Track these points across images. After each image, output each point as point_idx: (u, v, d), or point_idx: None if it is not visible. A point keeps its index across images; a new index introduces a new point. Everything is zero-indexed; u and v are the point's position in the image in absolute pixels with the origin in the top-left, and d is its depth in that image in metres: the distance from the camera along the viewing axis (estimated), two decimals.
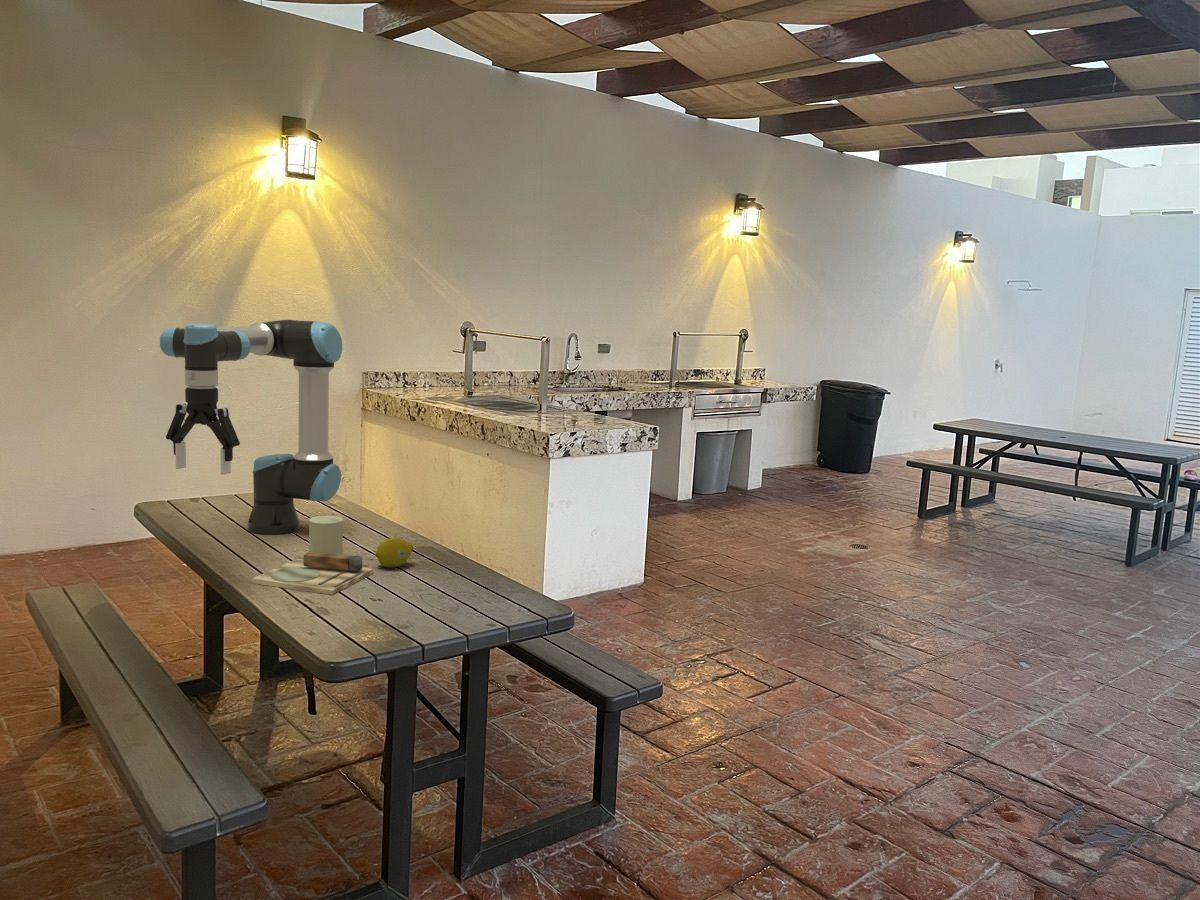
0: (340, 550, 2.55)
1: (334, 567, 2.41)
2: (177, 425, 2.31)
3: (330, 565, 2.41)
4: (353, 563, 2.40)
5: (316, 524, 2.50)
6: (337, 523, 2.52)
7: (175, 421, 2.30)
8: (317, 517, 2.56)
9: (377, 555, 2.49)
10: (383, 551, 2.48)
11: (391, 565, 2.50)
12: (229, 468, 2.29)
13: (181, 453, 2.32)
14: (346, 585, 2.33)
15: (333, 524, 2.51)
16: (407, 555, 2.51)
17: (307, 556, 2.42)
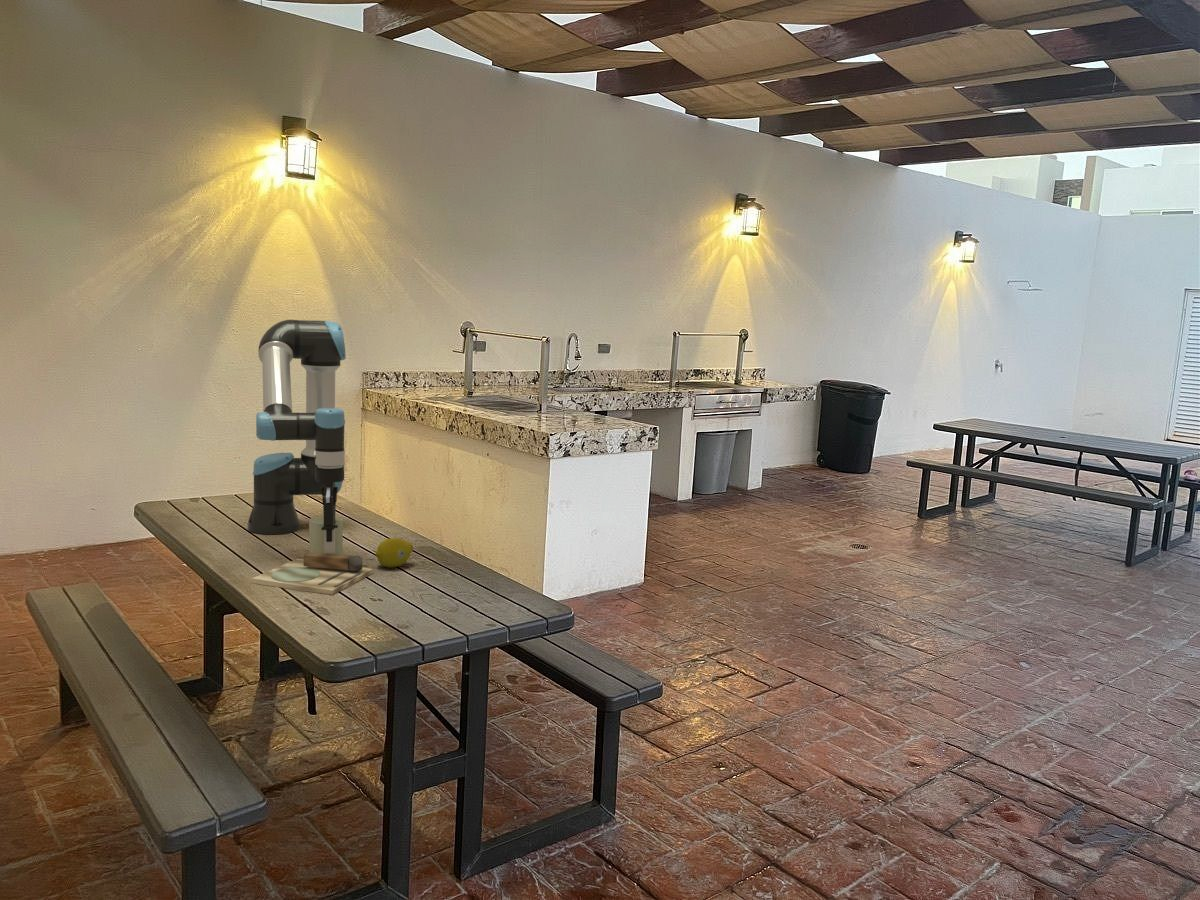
0: (340, 550, 2.55)
1: (334, 567, 2.41)
2: None
3: (330, 565, 2.41)
4: (353, 563, 2.40)
5: (316, 524, 2.50)
6: (337, 523, 2.52)
7: None
8: (317, 517, 2.56)
9: (377, 555, 2.49)
10: (383, 551, 2.48)
11: (391, 565, 2.50)
12: (332, 548, 2.47)
13: None
14: (346, 585, 2.33)
15: None
16: (407, 555, 2.51)
17: (307, 556, 2.42)
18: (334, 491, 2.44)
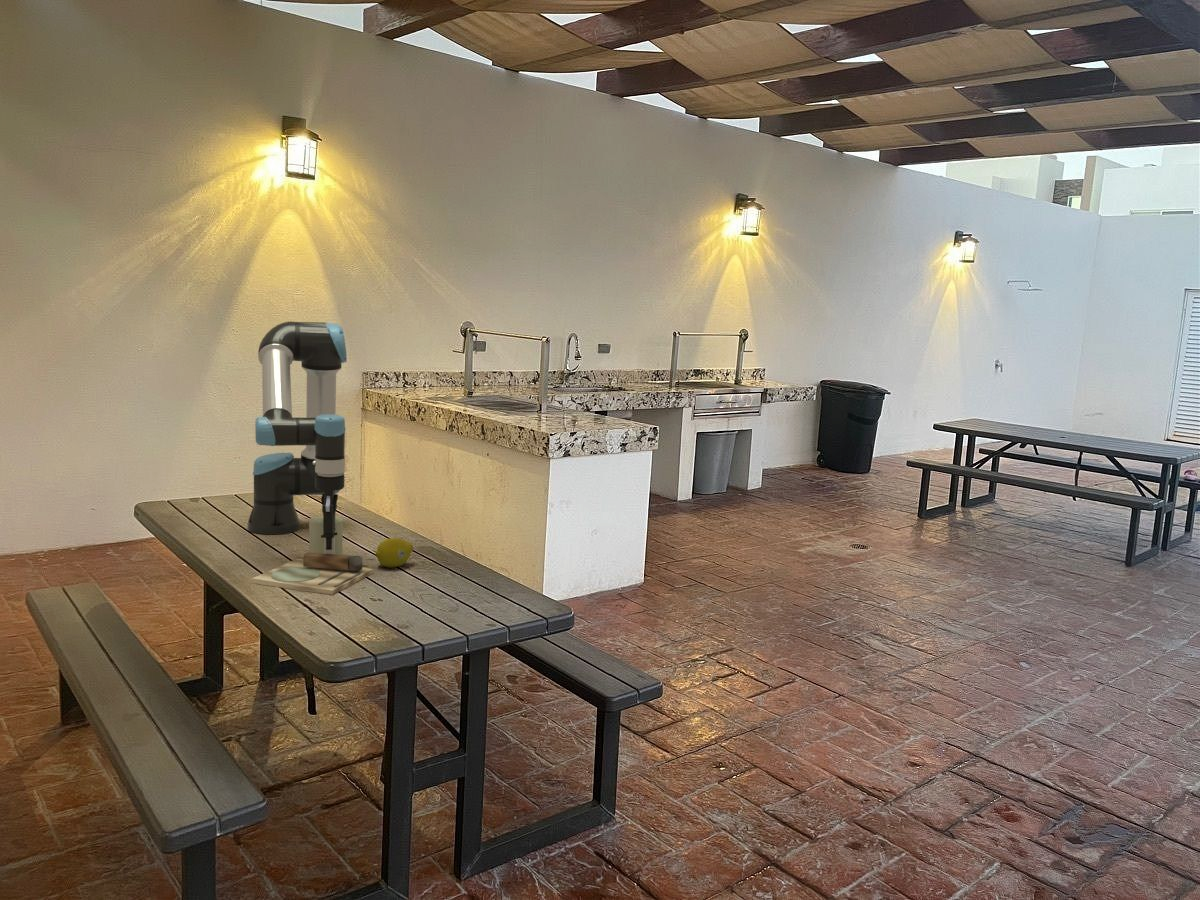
0: (340, 550, 2.55)
1: (334, 567, 2.41)
2: None
3: (330, 565, 2.41)
4: (353, 563, 2.40)
5: (316, 524, 2.50)
6: (337, 523, 2.52)
7: None
8: (317, 517, 2.56)
9: (377, 555, 2.49)
10: (383, 551, 2.48)
11: (391, 565, 2.50)
12: None
13: None
14: (346, 585, 2.33)
15: None
16: (407, 555, 2.51)
17: (306, 556, 2.41)
18: (334, 499, 2.41)
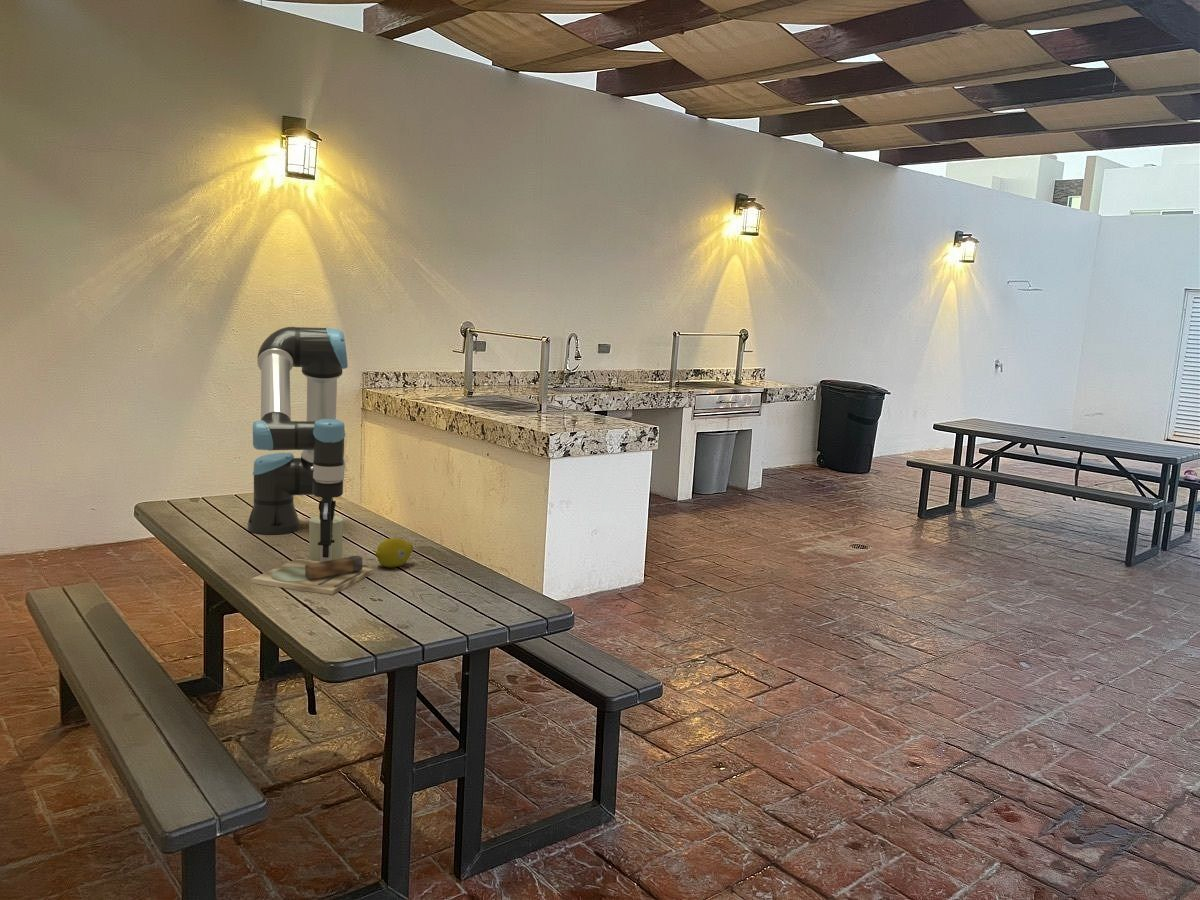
0: (340, 550, 2.55)
1: (341, 572, 2.38)
2: None
3: (337, 571, 2.37)
4: (359, 563, 2.41)
5: (316, 524, 2.50)
6: (337, 523, 2.52)
7: None
8: (317, 517, 2.56)
9: (377, 555, 2.49)
10: (383, 551, 2.48)
11: (391, 565, 2.50)
12: None
13: None
14: (346, 585, 2.33)
15: (333, 524, 2.51)
16: (407, 555, 2.51)
17: (314, 568, 2.32)
18: (332, 506, 2.35)
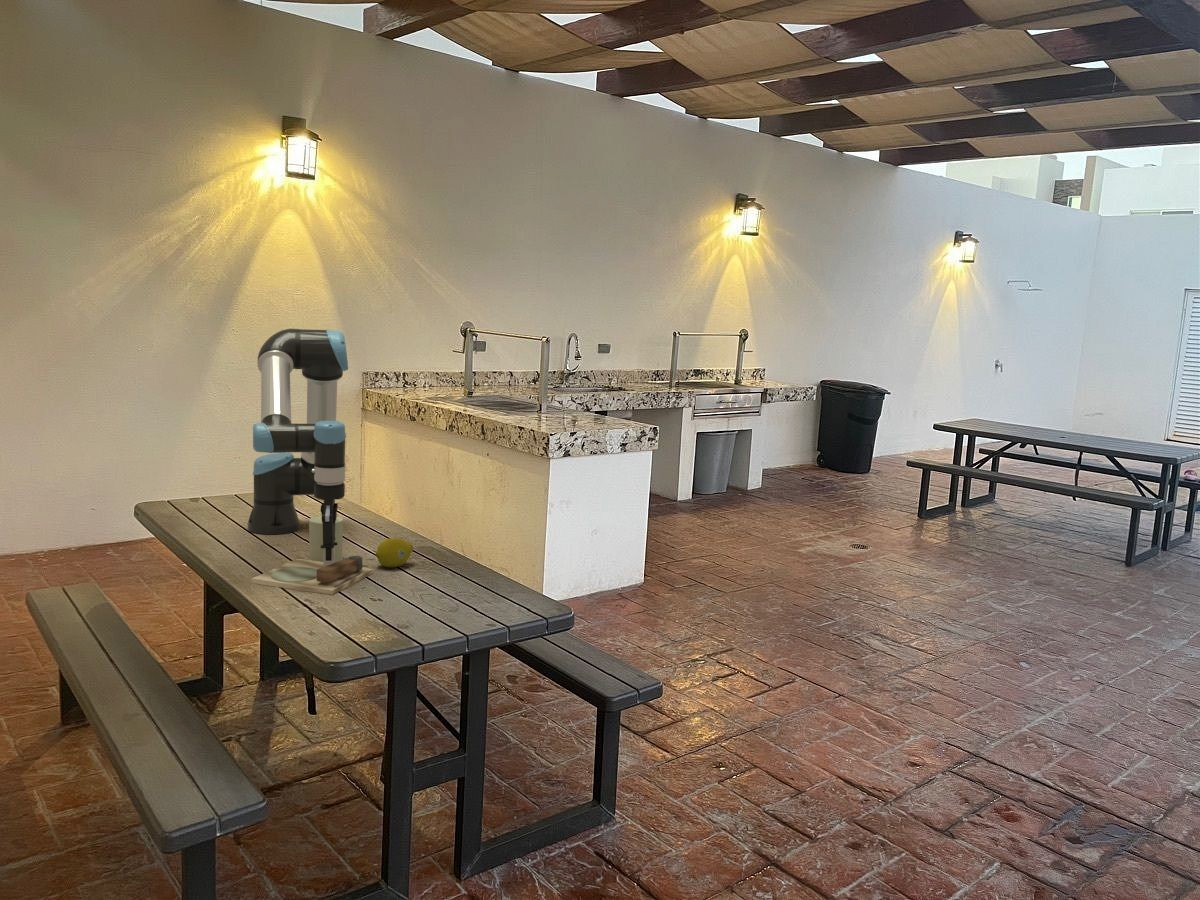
0: (340, 550, 2.55)
1: (347, 573, 2.37)
2: None
3: (344, 572, 2.36)
4: (361, 562, 2.42)
5: (316, 524, 2.50)
6: (337, 523, 2.52)
7: None
8: (317, 517, 2.56)
9: (377, 555, 2.49)
10: (383, 551, 2.48)
11: (391, 565, 2.50)
12: None
13: None
14: (346, 585, 2.33)
15: None
16: (407, 555, 2.51)
17: (329, 571, 2.30)
18: (334, 508, 2.33)
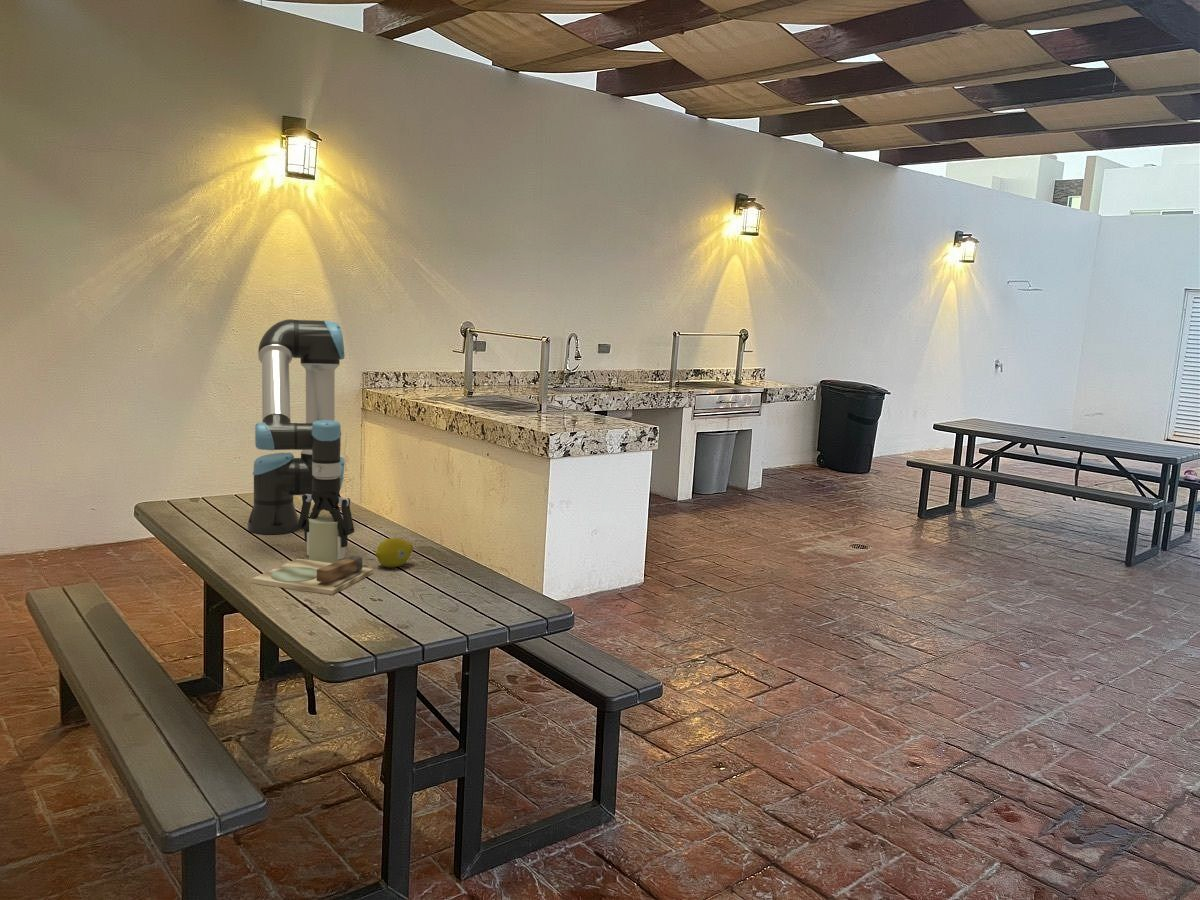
0: None
1: (347, 573, 2.37)
2: (306, 514, 2.55)
3: (344, 572, 2.36)
4: (361, 562, 2.42)
5: (316, 524, 2.50)
6: (337, 523, 2.52)
7: (304, 510, 2.54)
8: (317, 517, 2.56)
9: (377, 555, 2.49)
10: (383, 551, 2.48)
11: (391, 565, 2.50)
12: (344, 553, 2.55)
13: None
14: (346, 585, 2.33)
15: (333, 524, 2.51)
16: (407, 555, 2.51)
17: (329, 571, 2.30)
18: None
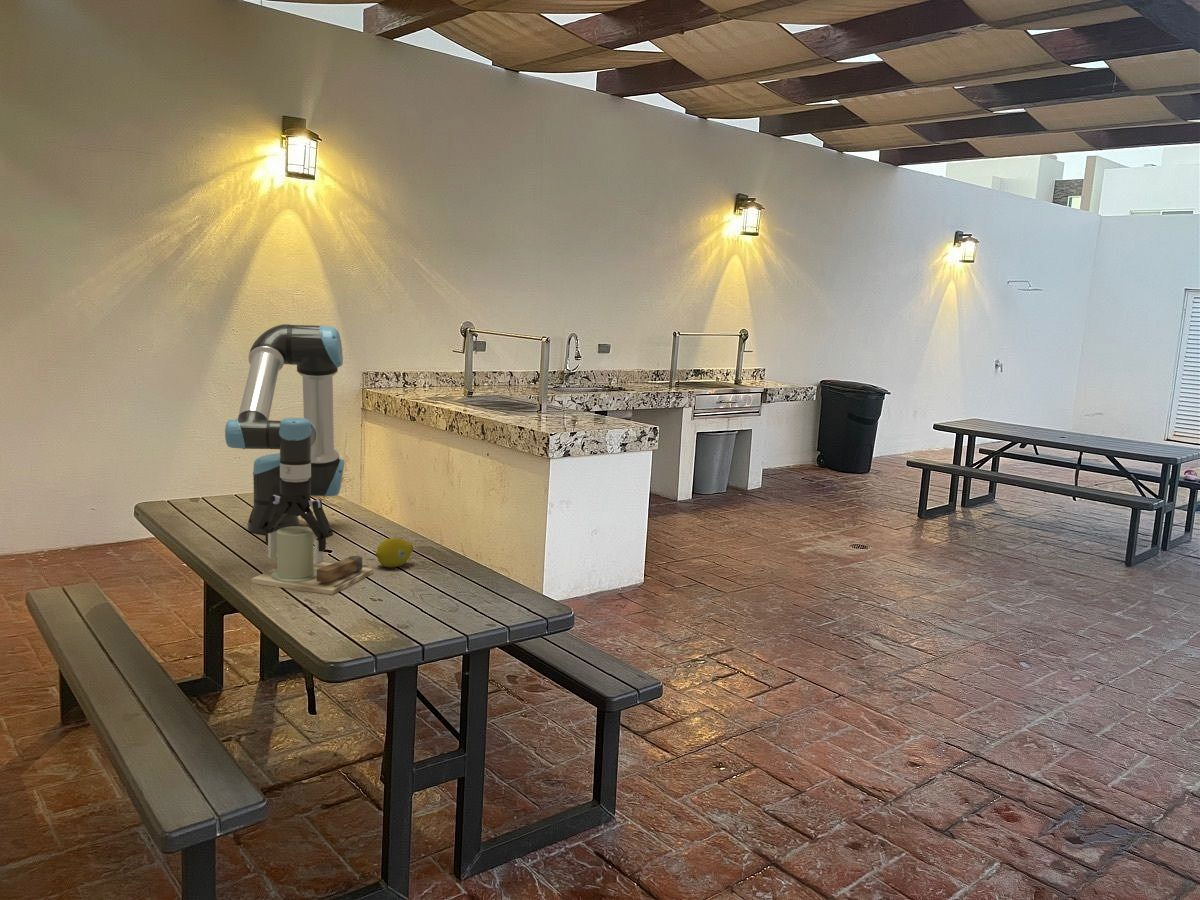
0: (311, 564, 2.36)
1: (347, 573, 2.37)
2: (269, 515, 2.36)
3: (344, 572, 2.36)
4: (361, 562, 2.42)
5: (284, 536, 2.31)
6: (307, 535, 2.33)
7: (268, 512, 2.35)
8: (286, 528, 2.37)
9: (377, 555, 2.49)
10: (383, 551, 2.48)
11: (391, 565, 2.50)
12: (322, 557, 2.35)
13: (273, 542, 2.37)
14: (346, 585, 2.33)
15: (302, 536, 2.32)
16: (407, 555, 2.51)
17: (329, 571, 2.30)
18: None
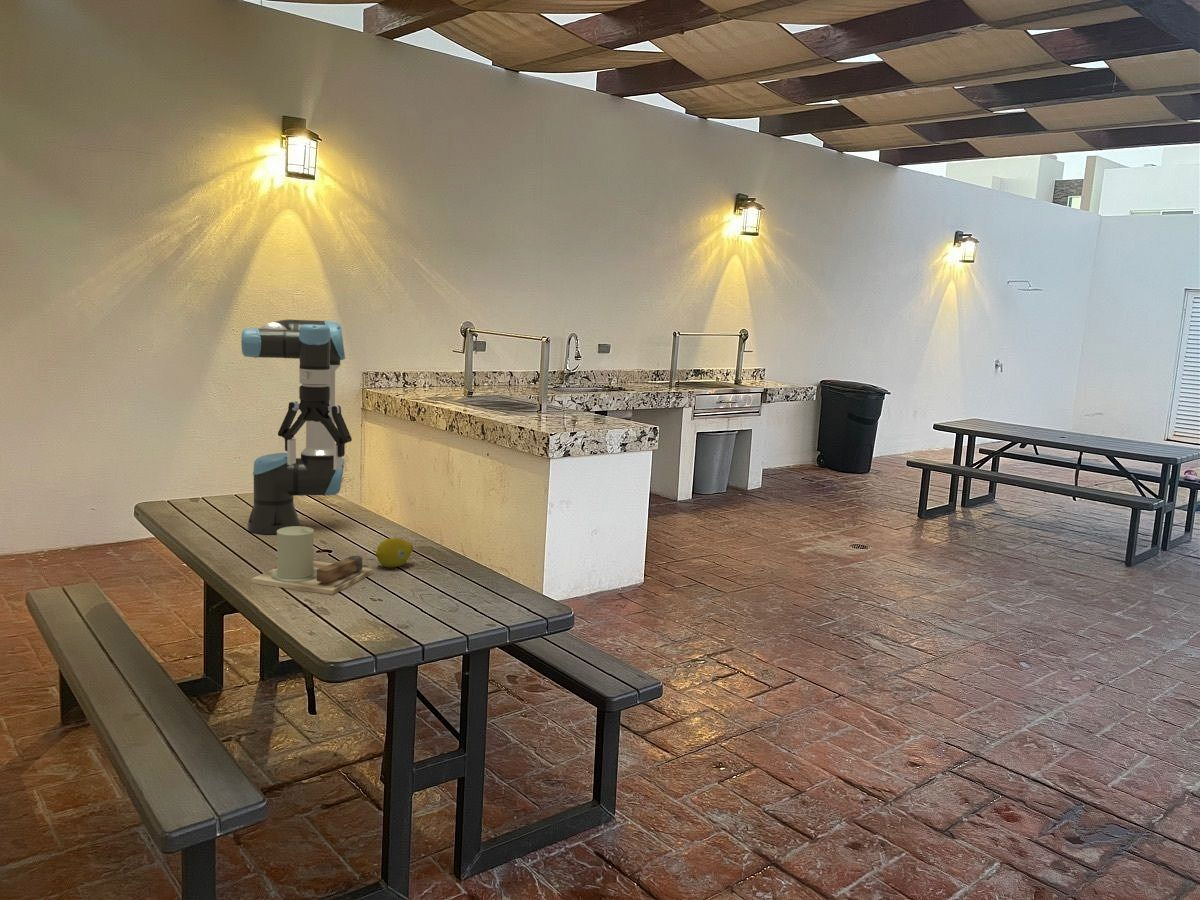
0: (311, 564, 2.36)
1: (347, 573, 2.37)
2: (289, 422, 2.39)
3: (344, 572, 2.36)
4: (361, 562, 2.42)
5: (284, 536, 2.31)
6: (307, 535, 2.33)
7: (287, 418, 2.38)
8: (286, 528, 2.37)
9: (377, 555, 2.49)
10: (383, 551, 2.48)
11: (391, 565, 2.50)
12: (340, 463, 2.38)
13: (292, 449, 2.40)
14: (346, 585, 2.33)
15: (302, 536, 2.32)
16: (407, 555, 2.51)
17: (329, 571, 2.30)
18: None
